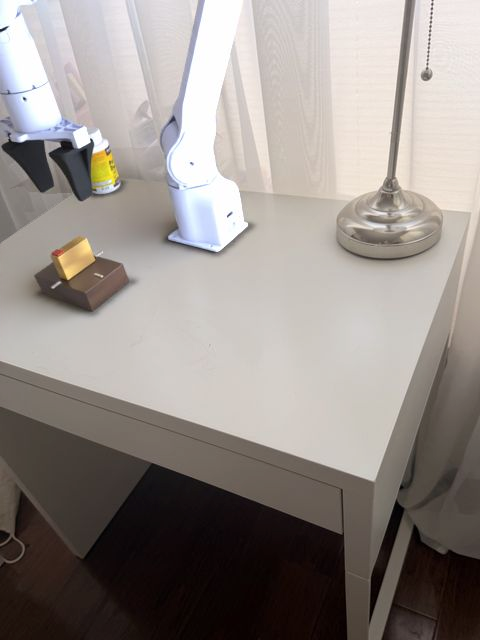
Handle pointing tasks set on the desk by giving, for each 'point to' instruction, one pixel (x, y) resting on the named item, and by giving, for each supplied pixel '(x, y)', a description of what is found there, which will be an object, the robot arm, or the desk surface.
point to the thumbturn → (72, 257)
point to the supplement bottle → (102, 164)
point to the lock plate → (85, 283)
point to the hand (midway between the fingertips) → (66, 193)
